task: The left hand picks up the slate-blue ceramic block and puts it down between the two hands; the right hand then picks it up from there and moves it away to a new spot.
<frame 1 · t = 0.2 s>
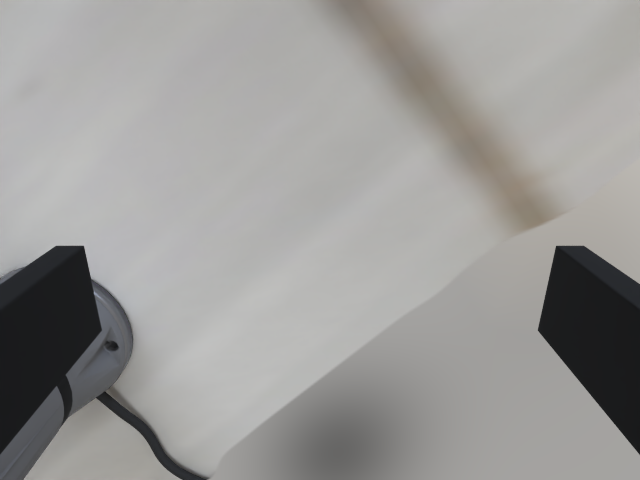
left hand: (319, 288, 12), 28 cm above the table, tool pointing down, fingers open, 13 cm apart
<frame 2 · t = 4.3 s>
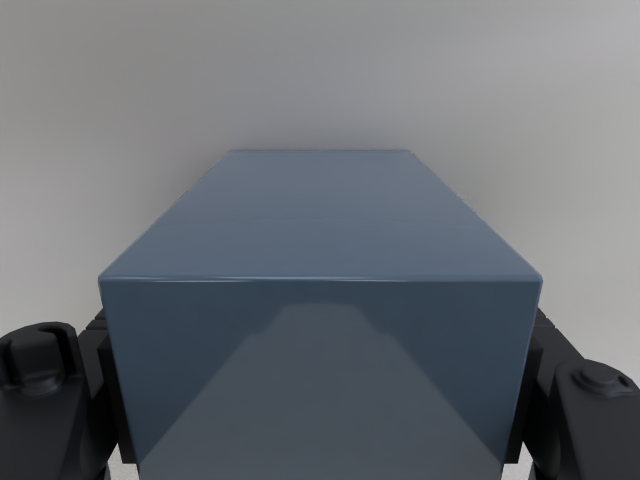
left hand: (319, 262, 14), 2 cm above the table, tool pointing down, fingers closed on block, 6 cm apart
block: (320, 236, 16), on the table, touching left hand
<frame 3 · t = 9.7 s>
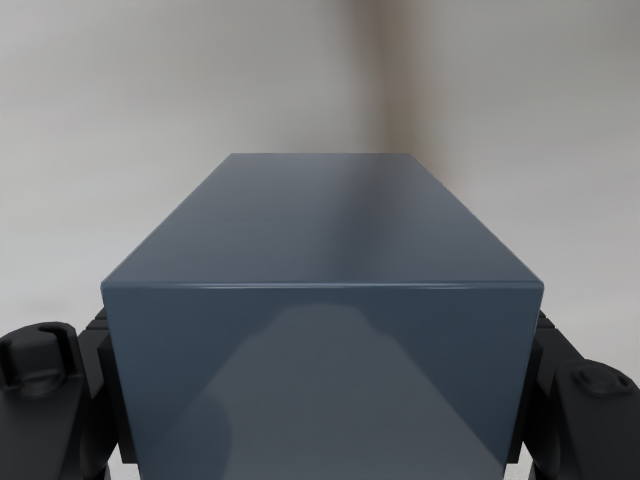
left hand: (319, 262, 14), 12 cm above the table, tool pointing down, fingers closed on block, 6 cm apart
block: (320, 239, 16), point 10 cm above the table, touching left hand
when the left hand's fingers open (4 cm above the table, at t = 15.6 s): block drops 2 cm, on the table.
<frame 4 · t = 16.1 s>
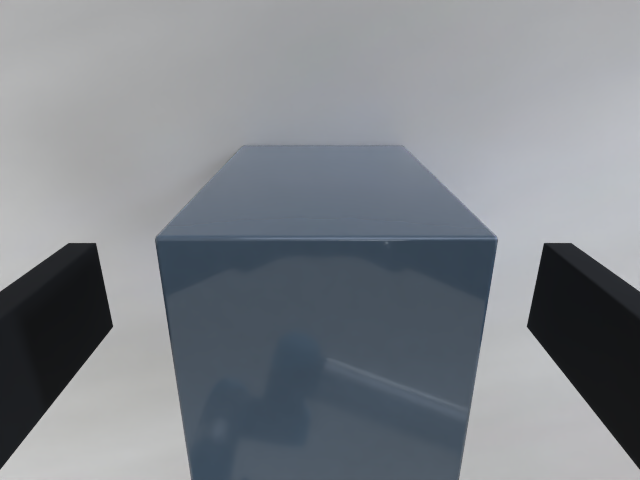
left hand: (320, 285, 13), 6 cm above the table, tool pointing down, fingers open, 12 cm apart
block: (322, 223, 18), on the table
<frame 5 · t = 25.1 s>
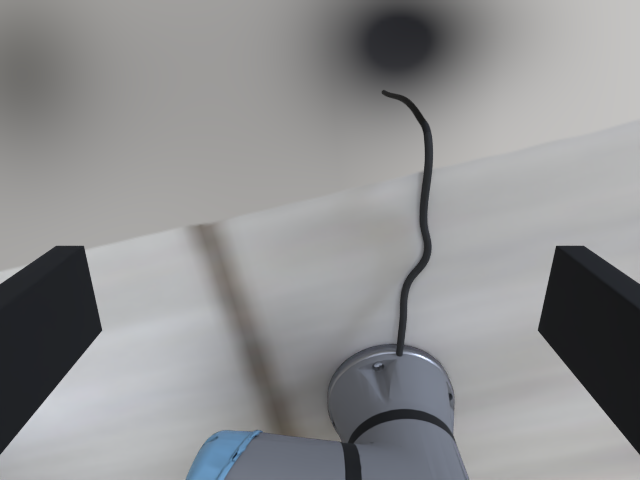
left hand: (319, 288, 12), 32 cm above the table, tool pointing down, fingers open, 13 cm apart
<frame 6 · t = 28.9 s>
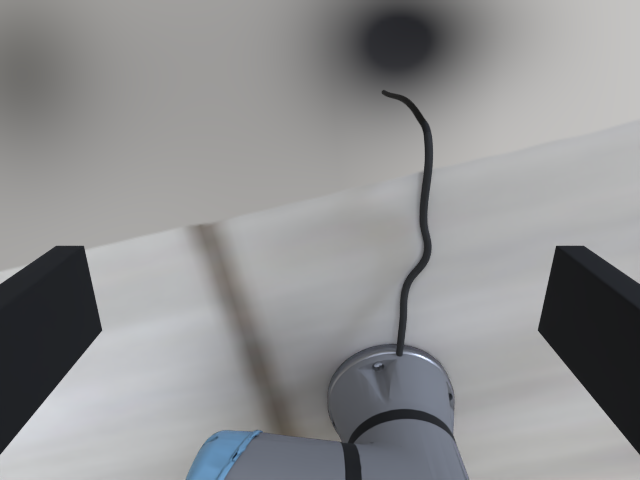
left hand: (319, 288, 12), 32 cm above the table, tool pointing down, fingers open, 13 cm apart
when the right hand's fingers open (4 cm above the table, at t = 32.8 s): block drops 2 cm, on the table.
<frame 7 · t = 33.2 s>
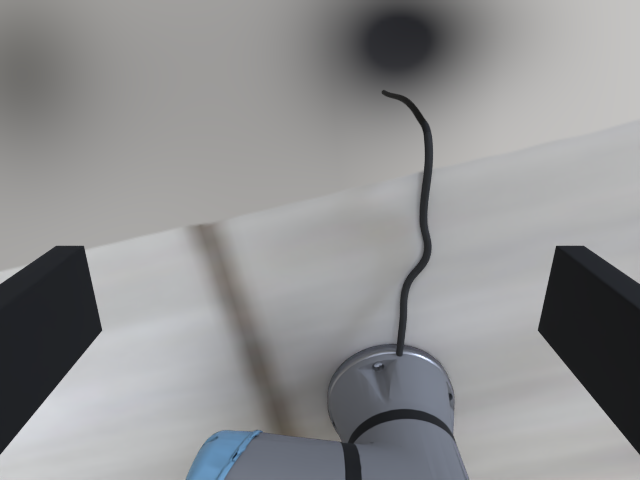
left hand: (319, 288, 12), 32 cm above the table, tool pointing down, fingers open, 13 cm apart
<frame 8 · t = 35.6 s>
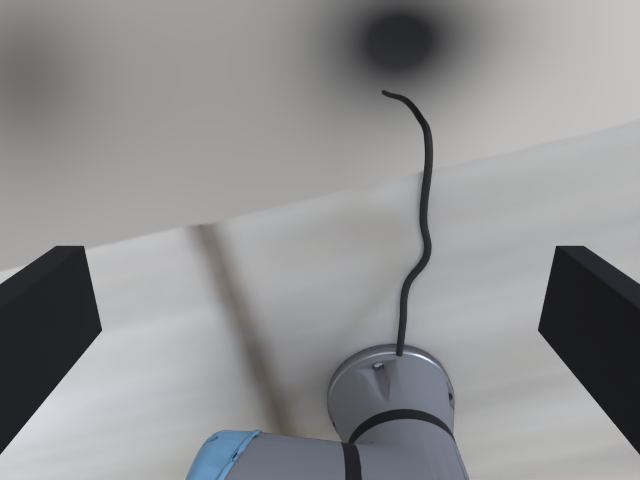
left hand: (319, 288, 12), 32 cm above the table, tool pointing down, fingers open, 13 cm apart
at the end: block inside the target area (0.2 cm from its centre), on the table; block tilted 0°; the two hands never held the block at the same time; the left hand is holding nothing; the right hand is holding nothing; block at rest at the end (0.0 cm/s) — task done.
